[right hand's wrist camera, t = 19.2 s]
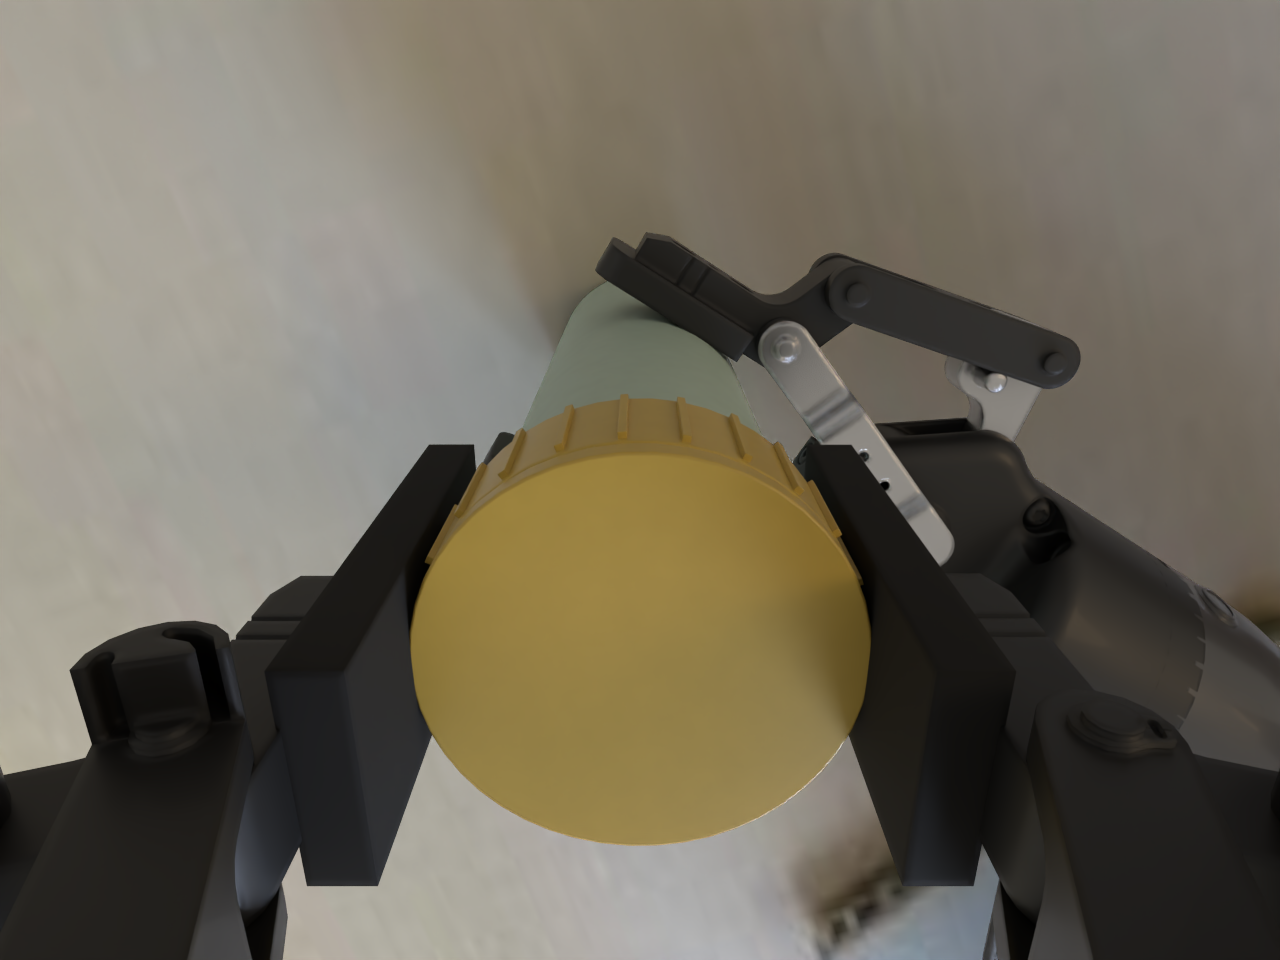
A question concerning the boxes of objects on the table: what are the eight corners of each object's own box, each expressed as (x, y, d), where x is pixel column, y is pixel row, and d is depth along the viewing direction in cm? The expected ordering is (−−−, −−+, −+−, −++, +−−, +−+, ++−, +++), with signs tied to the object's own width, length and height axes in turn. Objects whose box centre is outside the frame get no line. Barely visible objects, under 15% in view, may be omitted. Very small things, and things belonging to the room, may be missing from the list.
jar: (705, 436, 27) (791, 808, 12) (555, 418, 27) (442, 774, 11) (730, 284, 25) (870, 487, 10) (569, 264, 25) (456, 439, 10)
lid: (738, 318, 11) (762, 357, 9) (893, 655, 13) (943, 754, 11) (366, 501, 12) (307, 576, 10) (563, 789, 14) (548, 905, 11)
